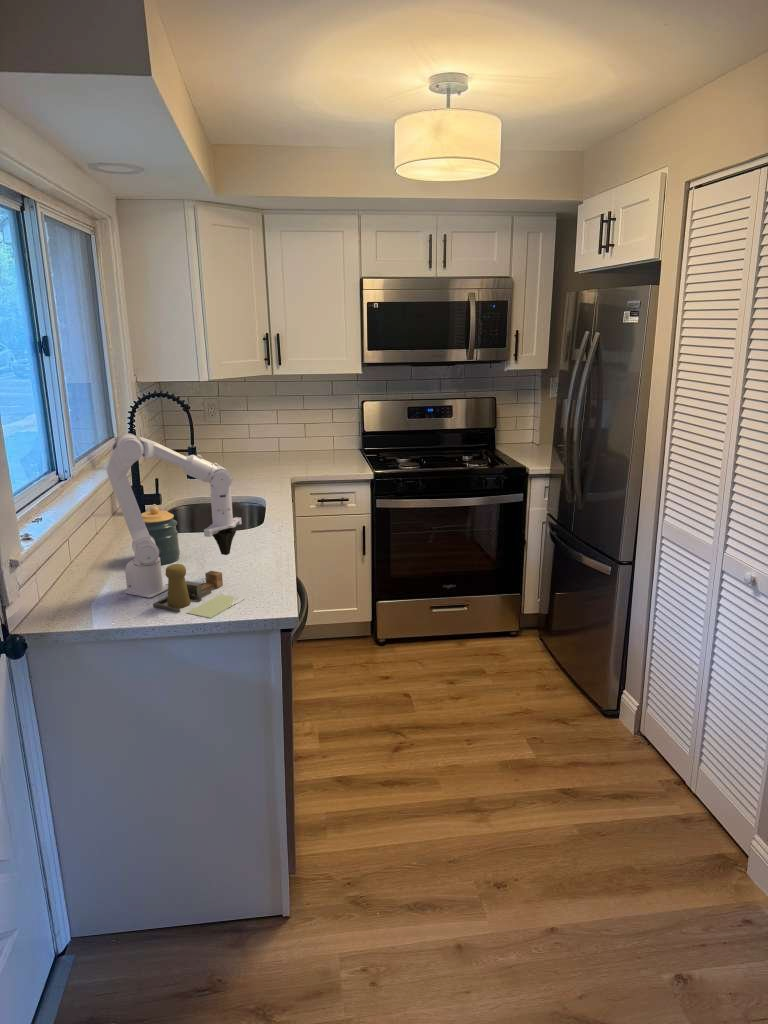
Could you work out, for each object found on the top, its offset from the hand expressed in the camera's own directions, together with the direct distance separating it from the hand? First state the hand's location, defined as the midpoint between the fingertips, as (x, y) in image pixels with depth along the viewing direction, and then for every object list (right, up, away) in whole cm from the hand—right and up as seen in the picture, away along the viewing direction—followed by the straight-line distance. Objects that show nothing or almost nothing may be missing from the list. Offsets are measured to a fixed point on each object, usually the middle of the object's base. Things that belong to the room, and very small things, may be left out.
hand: (225, 554), depth 197 cm
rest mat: (+2, -13, -18) cm, 22 cm away
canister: (-26, -3, +21) cm, 34 cm away
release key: (-4, -10, -6) cm, 12 cm away
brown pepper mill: (-9, -13, -16) cm, 22 cm away
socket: (-8, -12, -13) cm, 19 cm away
